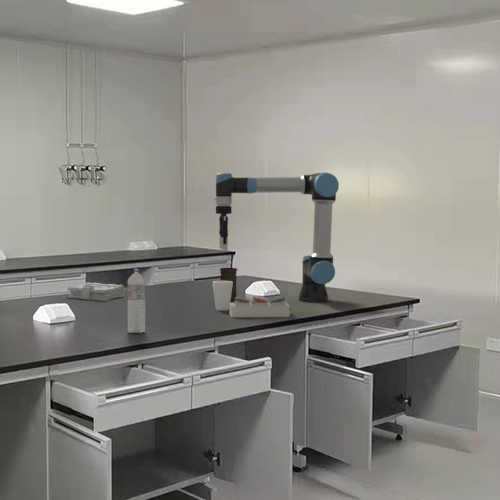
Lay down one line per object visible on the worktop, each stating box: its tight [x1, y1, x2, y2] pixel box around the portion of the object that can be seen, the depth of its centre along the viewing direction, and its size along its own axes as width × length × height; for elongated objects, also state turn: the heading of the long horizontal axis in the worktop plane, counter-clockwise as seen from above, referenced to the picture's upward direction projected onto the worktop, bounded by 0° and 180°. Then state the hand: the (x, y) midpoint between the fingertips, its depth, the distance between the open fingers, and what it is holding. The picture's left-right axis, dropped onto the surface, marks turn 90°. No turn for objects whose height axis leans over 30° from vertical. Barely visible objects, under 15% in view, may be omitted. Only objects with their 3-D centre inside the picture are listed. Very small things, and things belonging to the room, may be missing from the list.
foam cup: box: [212, 280, 233, 311], centre depth 357 cm, size 10×9×13 cm
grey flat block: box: [67, 281, 126, 302], centre depth 392 cm, size 19×28×8 cm
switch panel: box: [228, 300, 292, 318], centre depth 343 cm, size 27×10×6 cm, turn 97°
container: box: [219, 267, 238, 303], centre depth 369 cm, size 9×9×18 cm
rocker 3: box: [269, 295, 286, 303], centre depth 341 cm, size 6×4×1 cm, turn 97°
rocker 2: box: [252, 296, 268, 303], centre depth 340 cm, size 6×4×1 cm, turn 98°
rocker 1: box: [235, 296, 250, 303], centre depth 339 cm, size 6×4×1 cm, turn 98°
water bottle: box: [127, 268, 146, 334], centre depth 299 cm, size 7×7×25 cm
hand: (223, 249), depth 366 cm, fingers open, 13 cm apart
